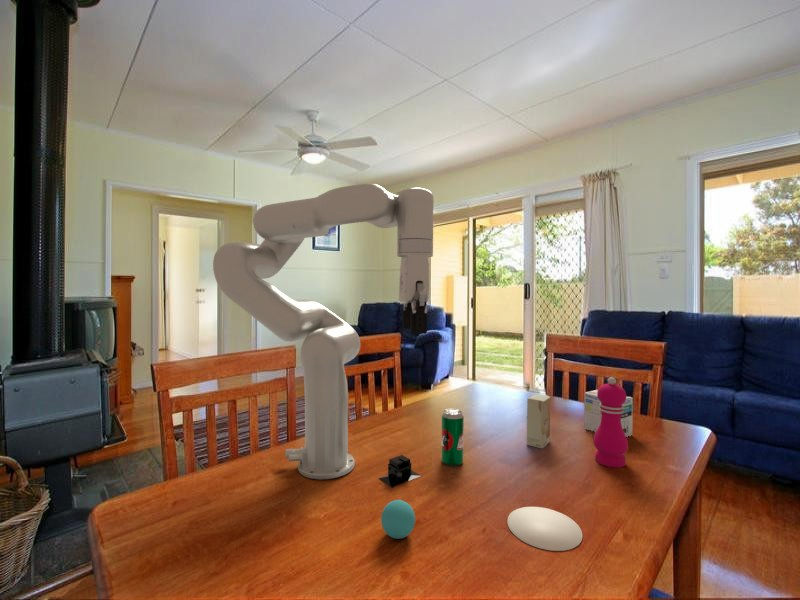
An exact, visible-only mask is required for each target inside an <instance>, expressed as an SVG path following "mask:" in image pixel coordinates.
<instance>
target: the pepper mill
mask: <svg viewBox="0 0 800 600" xmlns="http://www.w3.org/2000/svg"><path fill="white" fill-rule="evenodd" d="M616 383H617V380H616V378H615V377H611V376H610V377H609V378H607V383H603V384H601V385H600V386H599V387H598V389H597V390H598V391H597V396H598V399H599V400H600V401H601V403H600V404H599V405H600V407H599V409H600V410H601V414H602V416H601V423H600V425H599V427H598V429H597V431H596V432H594V435H593V441H592V443H593V446H594V447H595V448H596V449H597V450H595V452H594V454H595V461H596V462H597V463H598V464H600V465H603V466H605V467H608V468H615V469H617V468H623V467H625V465H626V456H625V453H627V451H628V450H629V443H628V437H627V438H626V436H625V433H624V431H623V428H622V425H621V413H623V412H624V411H623V408H624V407H623V406H622V404H623V403H624V402H625V401H626V396H627V393H626V391H625V388H623V387H622V386H620V385H619V384H616Z"/></svg>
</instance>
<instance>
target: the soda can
mask: <svg viewBox="0 0 800 600" xmlns="http://www.w3.org/2000/svg"><path fill="white" fill-rule="evenodd" d="M464 419H465V418H464V415H463V411H462V410H460V409H458V408H446V409H444V410H443V411H442V414H441V462H442V463H443V464H444V465H446V466H449V467H457V466H460V465H462V463H463V462H464V425H465V423H464V421H465V420H464Z"/></svg>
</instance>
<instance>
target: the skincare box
mask: <svg viewBox="0 0 800 600" xmlns="http://www.w3.org/2000/svg"><path fill="white" fill-rule="evenodd" d="M551 398H552V397H551V396H549V395H542V394H537V393H534V394H533V395H531V396H529V397H528V398H527V400H526V401H527V405H526V406H527V407H526V413H527V414H526V445H528V446H531V447H534V448H539V449H544V448H545V447H546V446H547V445H548V444H549V443H550V440H551V438H550V436H551Z"/></svg>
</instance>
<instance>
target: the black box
mask: <svg viewBox="0 0 800 600" xmlns="http://www.w3.org/2000/svg"><path fill="white" fill-rule="evenodd" d="M421 476H422V475H421V474H419V473H417V472H415V471H414V470H412V462H411V459H410V458H408V457H406V456H404V454H400V455H398V456H395V457H392V458H389V459H388V464H387V474H386V475H384V476H381V477H379V478H378V480H379V481H380V482H382V483H384V484H385V485H386V486H388V487H390V488H392V489H393V488H395V487H397V486H400V485H403V484H404V483H407V482H410V481H411V480H414V479H417V478H420V477H421Z"/></svg>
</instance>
